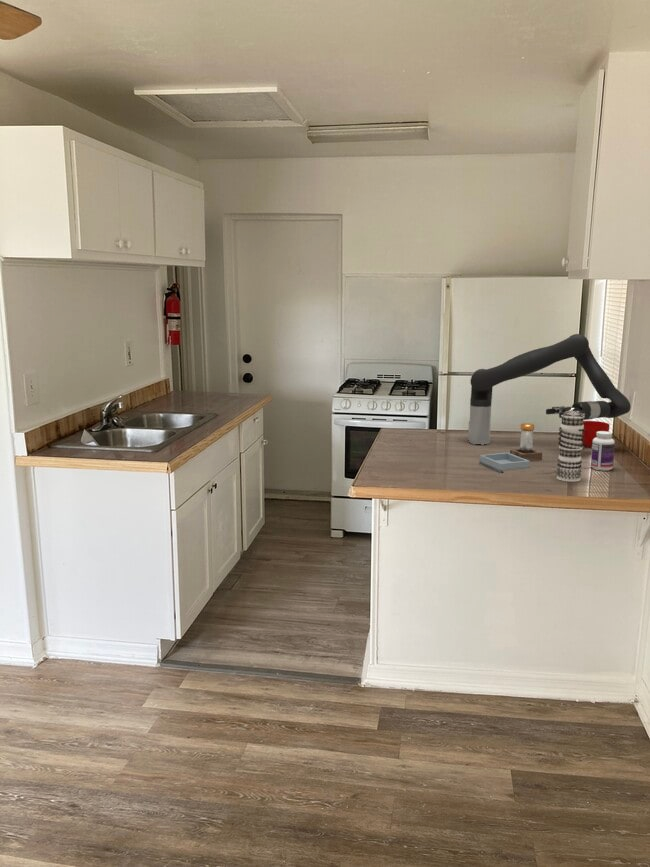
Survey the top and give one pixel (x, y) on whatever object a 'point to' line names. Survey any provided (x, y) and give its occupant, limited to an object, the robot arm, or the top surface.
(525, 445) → the glass jar
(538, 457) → the square wooden frame
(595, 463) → the pill bottle
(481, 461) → the tray
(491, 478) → the top surface
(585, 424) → the ceramic cup
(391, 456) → the top surface
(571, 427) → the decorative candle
